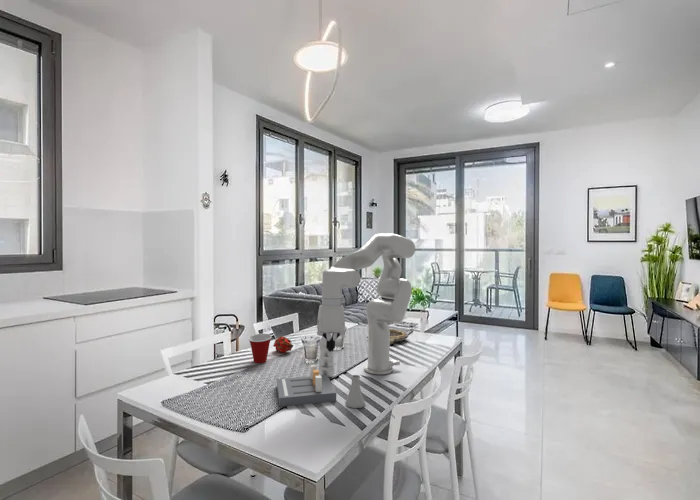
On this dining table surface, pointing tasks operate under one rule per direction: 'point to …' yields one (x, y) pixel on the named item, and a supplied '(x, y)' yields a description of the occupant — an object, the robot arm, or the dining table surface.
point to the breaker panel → (305, 390)
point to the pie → (397, 336)
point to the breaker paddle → (315, 373)
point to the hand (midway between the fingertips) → (330, 350)
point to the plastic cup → (260, 347)
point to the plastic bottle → (326, 359)
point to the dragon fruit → (283, 344)
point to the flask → (355, 394)
